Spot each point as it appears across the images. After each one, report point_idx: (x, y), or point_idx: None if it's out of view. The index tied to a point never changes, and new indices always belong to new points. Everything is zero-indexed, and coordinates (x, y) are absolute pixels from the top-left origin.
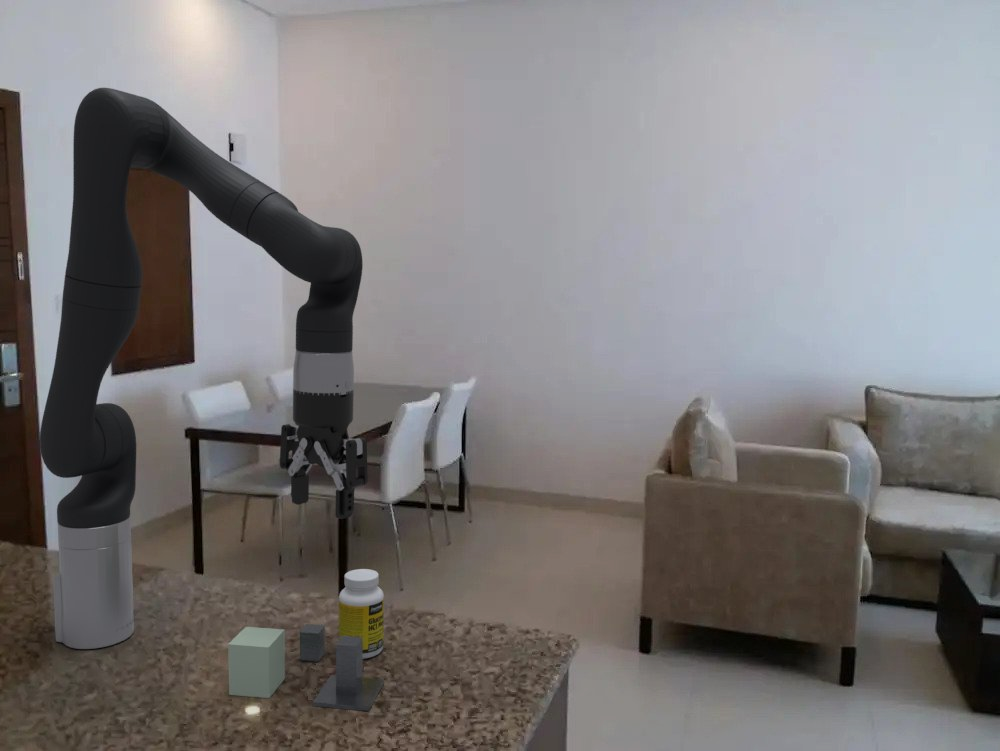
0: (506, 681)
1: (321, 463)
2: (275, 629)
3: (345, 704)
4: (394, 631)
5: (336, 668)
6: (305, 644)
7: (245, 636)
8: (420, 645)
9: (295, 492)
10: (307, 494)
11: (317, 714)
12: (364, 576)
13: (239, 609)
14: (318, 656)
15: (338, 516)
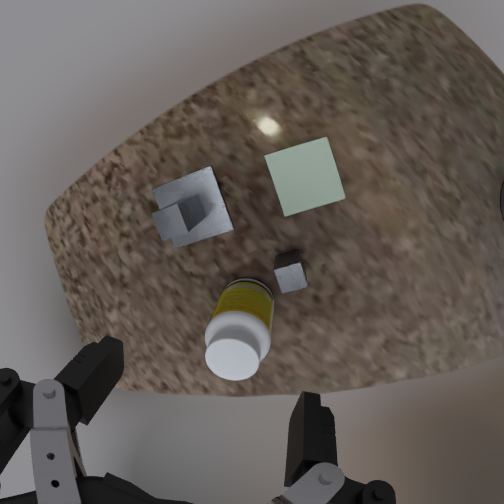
0: (91, 300)
1: (114, 488)
2: (298, 210)
3: (176, 181)
4: None
5: (187, 198)
6: (291, 258)
7: (322, 169)
8: (197, 335)
9: (303, 417)
10: (288, 433)
11: (196, 154)
12: (222, 356)
13: (440, 321)
14: (275, 258)
15: (107, 337)
